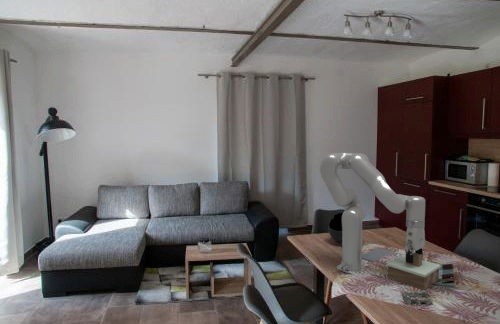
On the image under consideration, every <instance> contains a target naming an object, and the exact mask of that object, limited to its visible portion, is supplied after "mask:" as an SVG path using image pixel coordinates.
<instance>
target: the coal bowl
mask: <svg viewBox="0 0 500 324" xmlns="http://www.w3.org/2000/svg"><path fill="white" fill-rule="evenodd" d="M342 215H343V212H338V213H335V214H334V216H333V217H332V218H331V219H330V222H329V223H328V226H327V229H328V231H327V232H328V234H329V236H330V237H331V239H333V241H335V242H336V243H338V244H341V245H342Z"/></svg>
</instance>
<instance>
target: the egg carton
mask: <svg viewBox="0 0 500 324" xmlns="http://www.w3.org/2000/svg"><path fill="white" fill-rule="evenodd" d="M419 290H420V291H417V290H416V291H411V290H410V291H403V290H401V295H402V296H401V297H403V303H405V304H407V306H409V305H416V306H418V307H420V306H421V303H423V304H426V305H430V304H433V302H434V301H433V298H432V297H431V294H430V292H429V290H426V289H425V290H421V289H419ZM416 297H417V298H416ZM423 297H424V298H427V299H423ZM418 298H420V299H418ZM427 307H428V308H429V306H426V308H427Z"/></svg>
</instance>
